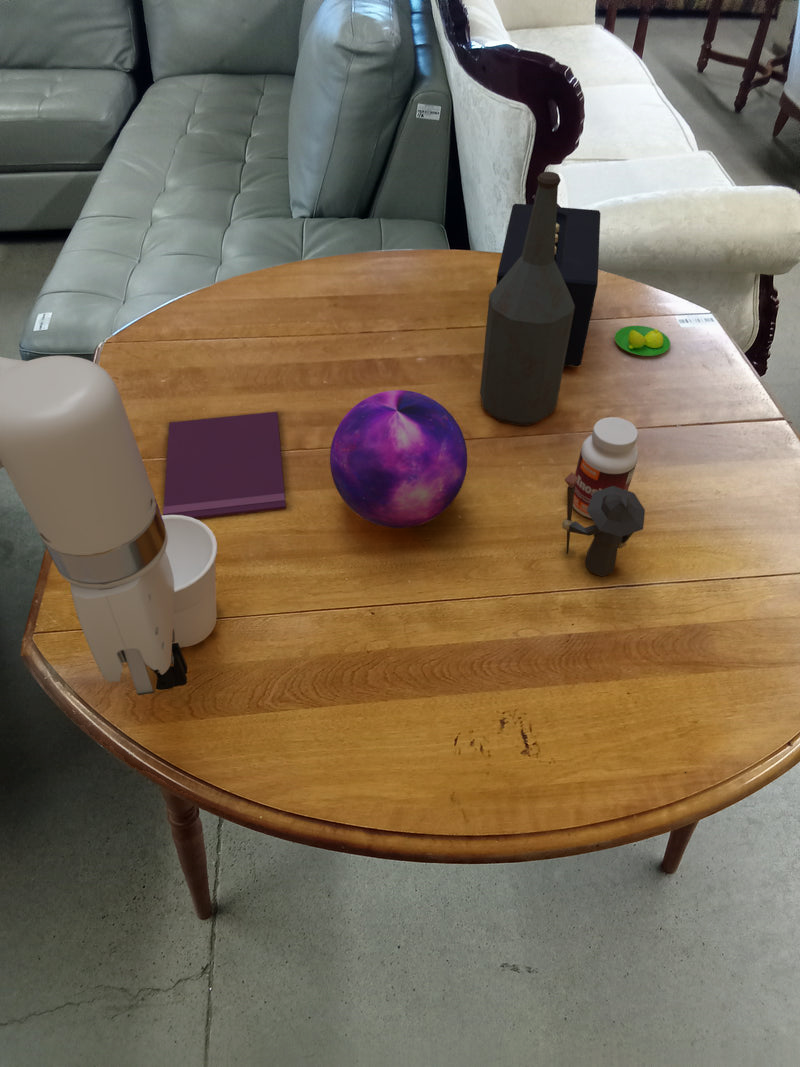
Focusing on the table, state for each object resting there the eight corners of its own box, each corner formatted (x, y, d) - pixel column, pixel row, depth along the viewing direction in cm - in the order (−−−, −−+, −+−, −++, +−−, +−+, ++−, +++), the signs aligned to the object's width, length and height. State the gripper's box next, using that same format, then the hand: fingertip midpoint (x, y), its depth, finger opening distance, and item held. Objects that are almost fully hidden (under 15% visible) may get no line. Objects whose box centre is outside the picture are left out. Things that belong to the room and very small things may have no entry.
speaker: (503, 290, 122) (513, 197, 111) (583, 298, 120) (602, 204, 110) (487, 366, 108) (497, 267, 97) (578, 376, 106) (599, 277, 95)
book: (163, 523, 87) (162, 519, 86) (170, 425, 99) (169, 421, 98) (286, 509, 88) (285, 505, 88) (277, 414, 100) (277, 410, 100)
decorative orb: (320, 546, 84) (309, 443, 73) (349, 458, 94) (343, 356, 83) (454, 564, 82) (463, 460, 71) (469, 472, 92) (478, 369, 81)
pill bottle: (561, 511, 88) (578, 437, 80) (578, 479, 92) (595, 405, 84) (614, 529, 86) (636, 455, 78) (628, 495, 90) (651, 422, 82)
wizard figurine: (621, 545, 84) (646, 464, 75) (632, 584, 80) (660, 504, 72) (547, 545, 84) (564, 465, 75) (554, 584, 80) (573, 504, 72)
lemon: (645, 365, 108) (650, 348, 106) (602, 341, 112) (606, 324, 110) (680, 346, 111) (685, 329, 109) (637, 323, 115) (641, 306, 113)
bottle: (559, 388, 104) (602, 162, 82) (550, 432, 98) (594, 199, 76) (486, 377, 106) (509, 152, 84) (472, 419, 99) (493, 187, 78)
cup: (248, 593, 79) (231, 521, 71) (216, 673, 73) (194, 602, 65) (159, 580, 81) (132, 508, 73) (120, 657, 74) (86, 587, 66)
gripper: (64, 466, 56) (130, 616, 69) (30, 629, 46) (116, 767, 59) (167, 454, 56) (213, 605, 70) (156, 612, 46) (213, 753, 60)
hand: (168, 679), depth 64 cm, fingers closed
